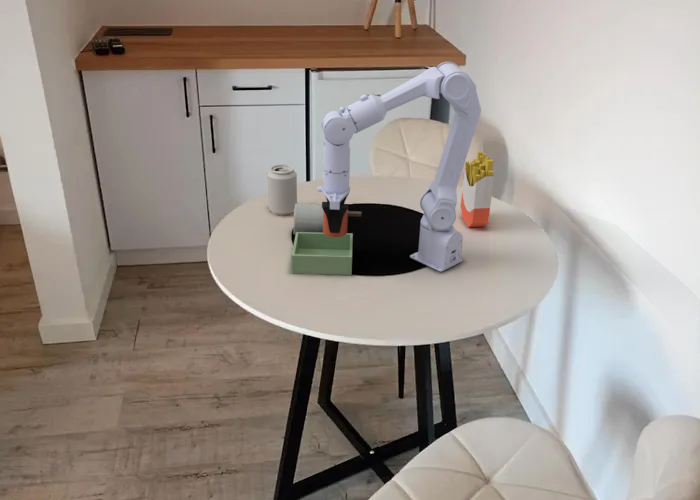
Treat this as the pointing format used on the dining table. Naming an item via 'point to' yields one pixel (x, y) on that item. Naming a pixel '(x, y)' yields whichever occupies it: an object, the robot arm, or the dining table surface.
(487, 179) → the french fries container
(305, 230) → the ceramic mug
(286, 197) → the can
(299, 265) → the drawer
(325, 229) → the pot
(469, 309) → the dining table surface
